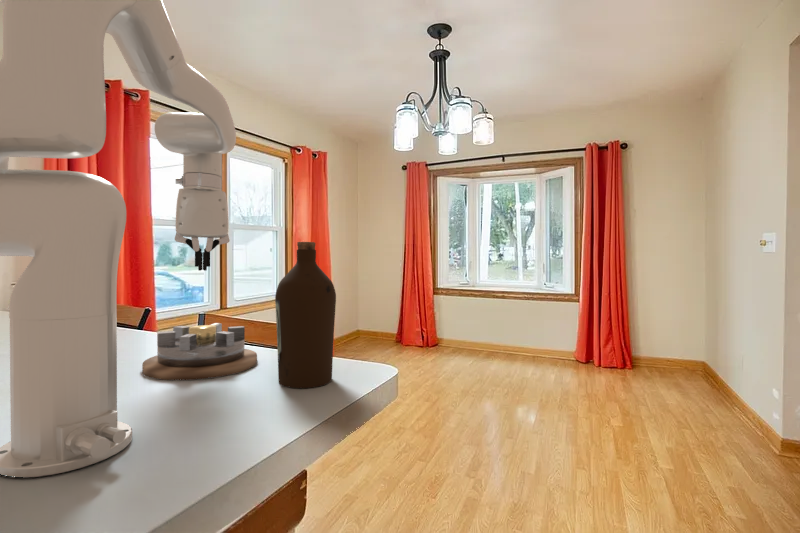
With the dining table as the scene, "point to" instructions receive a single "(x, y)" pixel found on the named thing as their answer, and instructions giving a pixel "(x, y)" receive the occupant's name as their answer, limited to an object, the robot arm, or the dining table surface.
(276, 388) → the dining table surface
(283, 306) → the olive oil
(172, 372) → the board
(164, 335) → the crenellated turret ring
